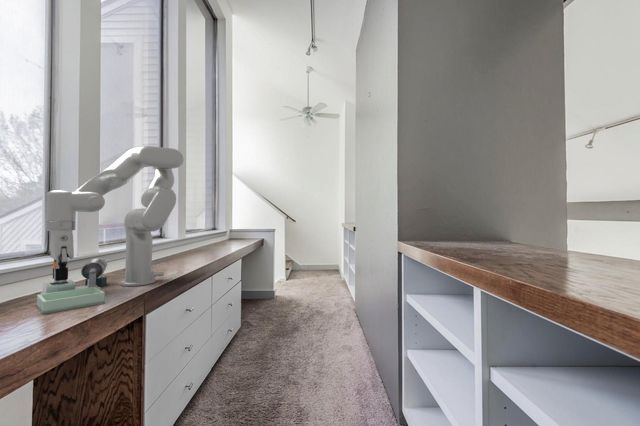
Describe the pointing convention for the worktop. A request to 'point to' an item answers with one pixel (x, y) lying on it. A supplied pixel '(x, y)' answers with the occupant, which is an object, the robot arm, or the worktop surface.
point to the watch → (101, 280)
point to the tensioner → (88, 271)
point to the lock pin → (54, 275)
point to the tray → (69, 299)
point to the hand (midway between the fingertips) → (60, 278)
